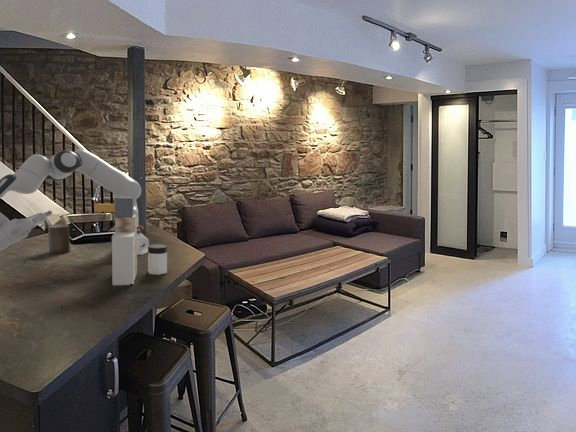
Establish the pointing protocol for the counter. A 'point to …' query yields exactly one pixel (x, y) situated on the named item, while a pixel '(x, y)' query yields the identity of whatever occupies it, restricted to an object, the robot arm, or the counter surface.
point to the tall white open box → (123, 258)
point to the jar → (157, 259)
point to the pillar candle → (59, 239)
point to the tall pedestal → (128, 230)
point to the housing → (118, 207)
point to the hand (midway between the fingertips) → (48, 213)
